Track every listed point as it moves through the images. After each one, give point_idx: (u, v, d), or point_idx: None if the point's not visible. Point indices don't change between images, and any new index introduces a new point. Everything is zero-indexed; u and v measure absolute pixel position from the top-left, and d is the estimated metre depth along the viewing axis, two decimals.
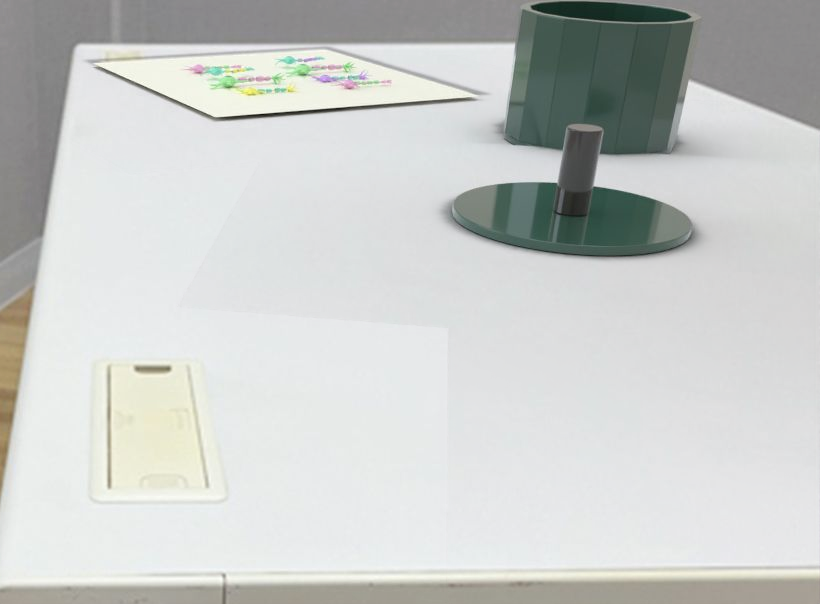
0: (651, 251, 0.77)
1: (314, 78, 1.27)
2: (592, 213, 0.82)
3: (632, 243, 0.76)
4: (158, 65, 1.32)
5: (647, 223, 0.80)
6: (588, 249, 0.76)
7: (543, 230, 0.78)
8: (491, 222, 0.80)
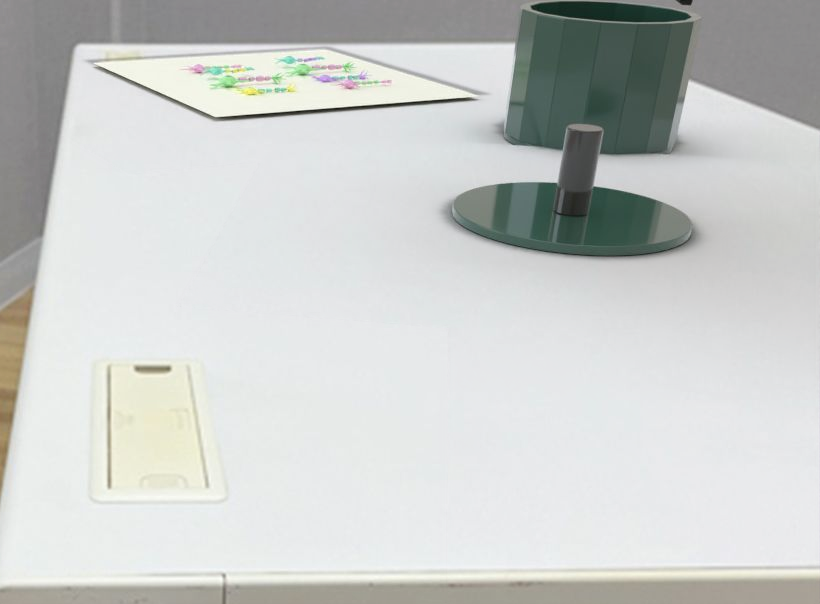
0: (651, 251, 0.77)
1: (314, 78, 1.27)
2: (592, 213, 0.82)
3: (632, 243, 0.76)
4: (158, 65, 1.32)
5: (647, 223, 0.80)
6: (588, 249, 0.76)
7: (543, 230, 0.78)
8: (491, 222, 0.80)
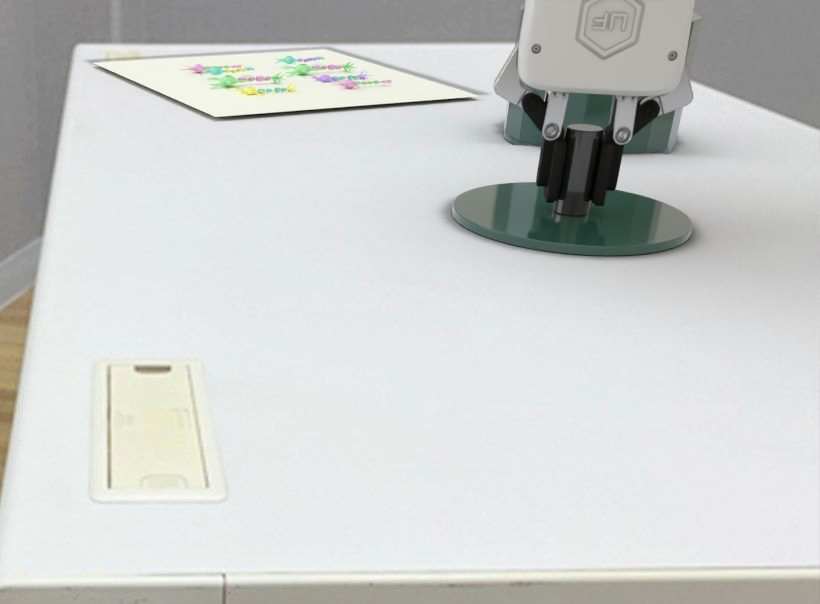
0: (651, 251, 0.77)
1: (314, 78, 1.27)
2: (592, 213, 0.82)
3: (632, 243, 0.76)
4: (158, 65, 1.32)
5: (647, 223, 0.80)
6: (588, 249, 0.76)
7: (543, 230, 0.78)
8: (491, 222, 0.80)
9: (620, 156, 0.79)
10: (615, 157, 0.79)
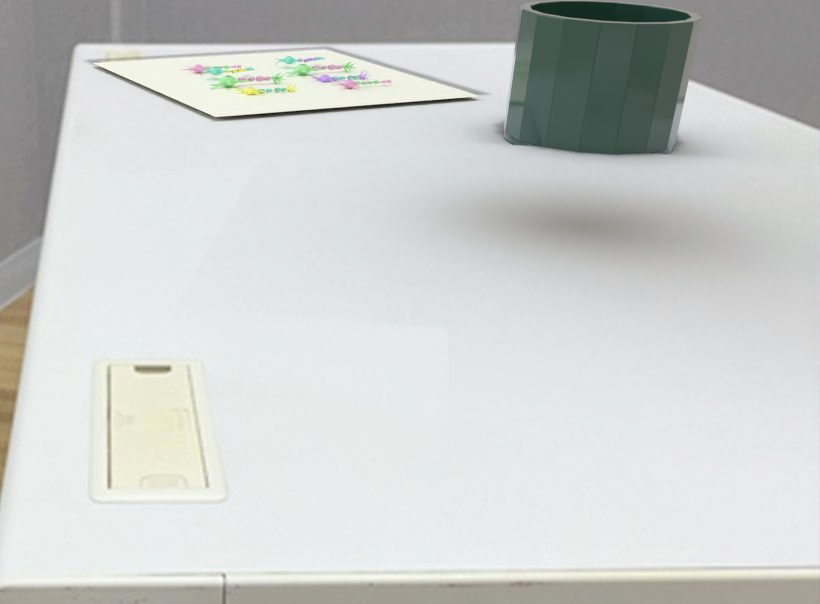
0: None
1: (314, 78, 1.27)
2: None
3: None
4: (158, 65, 1.32)
5: None
6: None
7: None
8: None
9: None
10: None
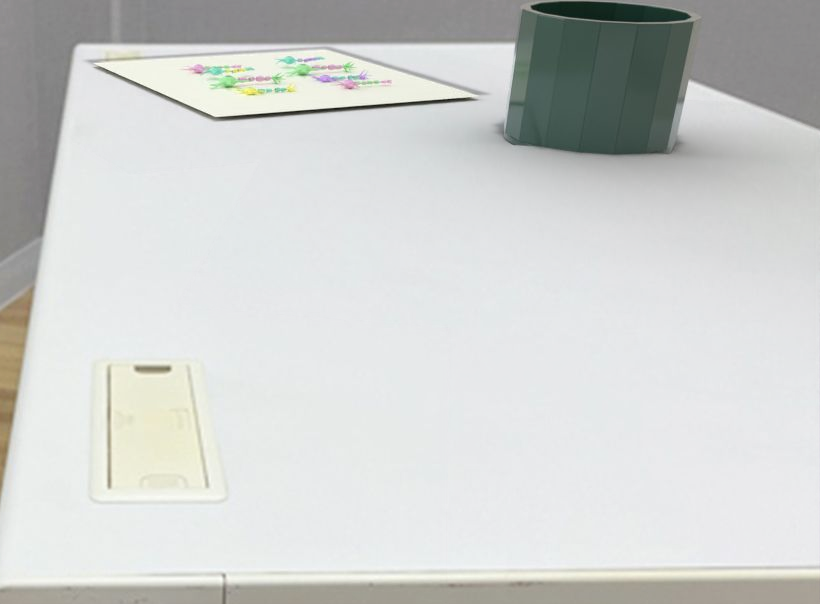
0: None
1: (314, 78, 1.27)
2: None
3: None
4: (158, 65, 1.32)
5: None
6: None
7: None
8: None
9: None
10: None
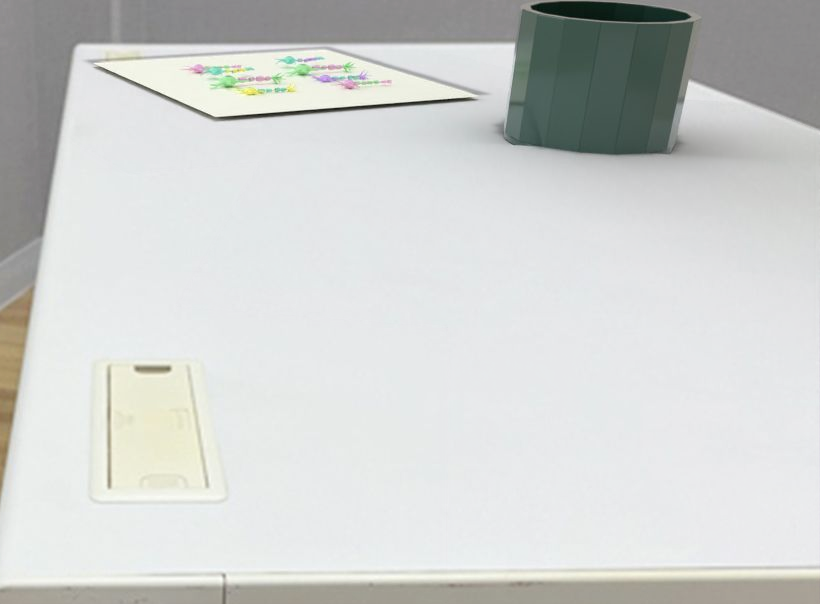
0: None
1: (314, 78, 1.27)
2: None
3: None
4: (158, 65, 1.32)
5: None
6: None
7: None
8: None
9: None
10: None
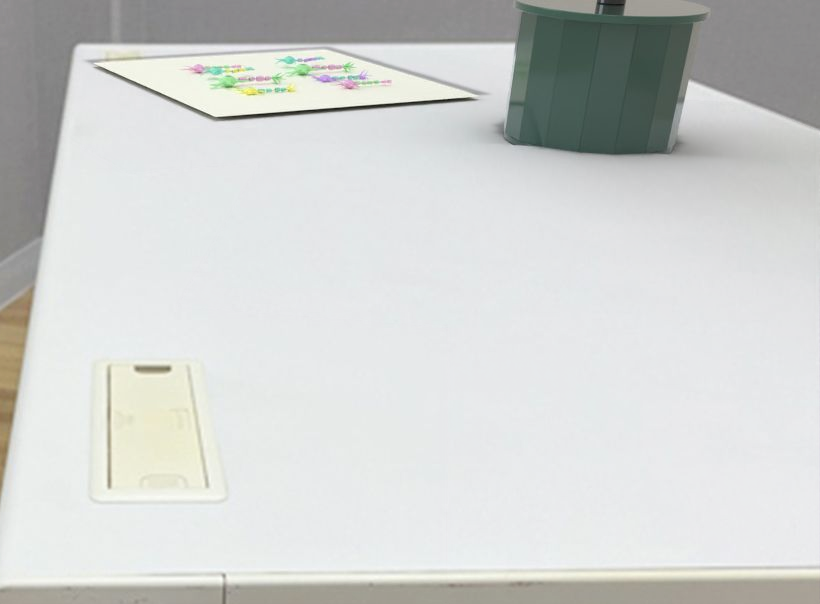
0: (678, 23, 0.95)
1: (314, 78, 1.27)
2: (628, 4, 1.01)
3: (663, 15, 0.95)
4: (158, 65, 1.32)
5: (674, 8, 0.99)
6: (627, 19, 0.94)
7: (590, 9, 0.97)
8: (547, 6, 0.98)
9: None
10: None
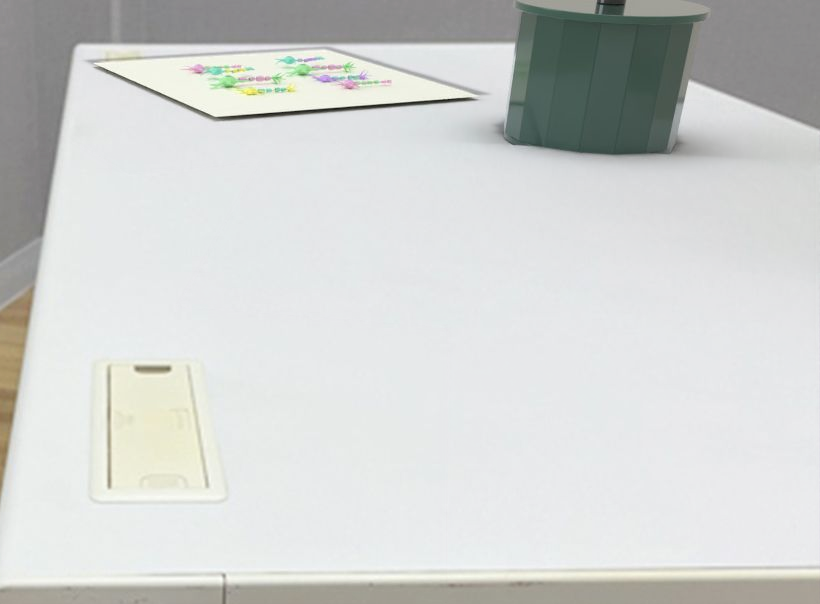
0: (678, 23, 0.95)
1: (314, 78, 1.27)
2: (628, 4, 1.01)
3: (663, 15, 0.95)
4: (158, 65, 1.32)
5: (674, 8, 0.99)
6: (627, 19, 0.94)
7: (590, 9, 0.97)
8: (547, 6, 0.98)
9: None
10: None
